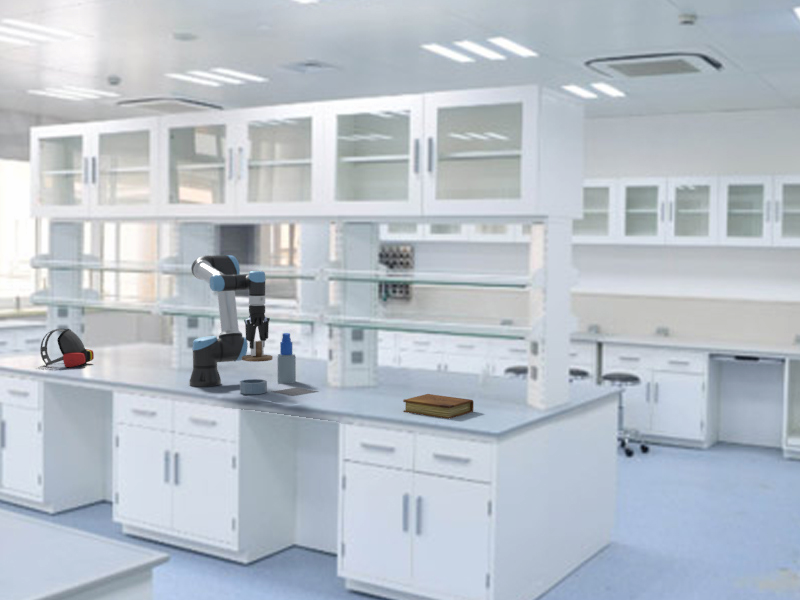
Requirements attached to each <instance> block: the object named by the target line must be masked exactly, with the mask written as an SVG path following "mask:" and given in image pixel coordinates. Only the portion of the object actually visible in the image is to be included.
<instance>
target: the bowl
mask: <svg viewBox="0 0 800 600" xmlns="http://www.w3.org/2000/svg"><path fill="white" fill-rule="evenodd" d="M267 384H268V381H267V380H266V379H259V378H258V379H257V378H253V379H252V378H251V379H242V380H239V393H240V394H242V395H244V396H246V397H247V395H262V394H265V393H267V392H268V387H267V386H268V385H267Z"/></svg>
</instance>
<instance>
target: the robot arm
mask: <svg viewBox="0 0 800 600" xmlns="http://www.w3.org/2000/svg"><path fill="white" fill-rule="evenodd" d="M190 269H191V273H192V275H193V276H194V277H195V278H196V279H198V280H202V281H203V280H204V281H205V282H206V283H208V284H209V287H210V289H211V291H213V292H216V293H217V300H218V311H219V321H220V330H221V331H220V334H218V337H217V336H216V335H207V336H201V337H197V338H195V339H194V340H193V341H192V372H191V375H190V379H189V386H192V387H197V388H198V387H200V388H201V387H208V388H209V387H215V386H219V385H222V379H221V376H220V372H219V369H218V363H225V362H226V363H228V362H239V361H243V360H242V356H245V355H248V354H247V353H248V346H249V349H250V355H251V356H256V342H254V341H255V339H256V334H257V333H256V331H258V336H259V340H258V341H261V342H262V355H265V354H264V349H265V346H266V345H265V344H266V343H265V342H266V341H267V339H269V328H270V327H269V324H270V317H266V315H265V314H266V305H265V304H266V280H267V279H266V272H264V271H263V270H262V271H261V270H260V271H259V270H256V271H255V270H252V271H249V273H244V274H240V272H241V270H240V269H241V268H240V264H239V261H238V259H237V258H236V256H234V255H229V254H228V255H227V254H224V255H223V254H221V255H220V254H218V255H217V254H216V255H214V254H213V255H209V254H207V255H201V256H199V257H197V258H196V259H195V260H194V261H193V262H192V264H191V268H190ZM238 291H239V292H240V291H241V292H242V291H248V314H249V316H248V318H246V319H244V320H243V321H244V324H245V325H244V327H245V337H244V336H243V333H242V331H240V329H239V320H238V309H237V300H236V292H238ZM257 329H258V330H257ZM248 342H249V345H248Z"/></svg>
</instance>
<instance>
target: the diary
mask: <svg viewBox="0 0 800 600" xmlns="http://www.w3.org/2000/svg"><path fill="white" fill-rule="evenodd" d="M402 402H403V403H405V410H403V411H402V412H403V413H408V412H409V413H410V414H414V413H416V415H421V414H423V416H429V417H434V416H435V418H441V417H442V419H448V420H449V418H450V419H453V418H456V416H457V417H459V416H460V417H461V416H463V415H467V414H469V413H473V412H474V400H473V399H468V398H461V397H454V396H446V395H439V394H434V393H433V394H430V393H427V394H421V395H418V396H413V397H409V398H405V399H403V401H402ZM409 413H408V414H409Z"/></svg>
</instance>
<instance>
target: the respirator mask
mask: <svg viewBox="0 0 800 600" xmlns="http://www.w3.org/2000/svg"><path fill="white" fill-rule="evenodd" d="M55 332H61V333H60V334H59V335H58V336H57V339H56V341H57V344H58V345H57V346H58V348H59V350H60V351H59V352H60V353H61V354H62V356H60V357H58V358H55V359H53V360H51V358H50V356H49V354H48V342H49V340H50V337H51V336H52V335H53V333H55ZM45 338H46V339H45ZM44 341H45V342H44ZM43 345H44V346H43ZM39 348H40V350H39V351H40V356H41V359H42V361H43V362H44V364H45V366H46V367H47V366H50V365H54V364H56V363H58V362H59V363H60V362H61V361H63V364H64V365H63V366H64V367H65V368H66V367H69V368H73V367H74V368H75V367H78V366H86V364H87V363H89V362H91V361H93V360H94V358H95V354H94V350H92V349H88V348H85V345H84V342H83V341H82V339H81V338H80V337H79V336H78V335H77V334H76V333H75V332H74V331H72V329H70V328H63V329H62V328H56V329H52V330H51V331H49V332H47V333H45V335H44V336H43V338H42V340H41V343H40V347H39ZM46 360H47V361H46Z"/></svg>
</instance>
